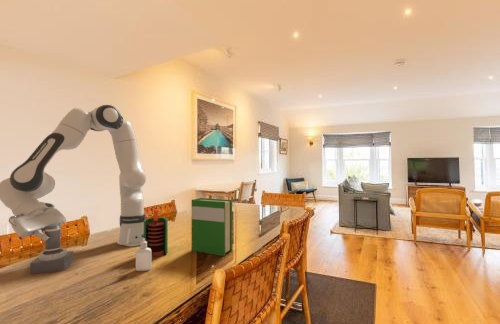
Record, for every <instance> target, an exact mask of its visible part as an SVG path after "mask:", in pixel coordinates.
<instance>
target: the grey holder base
mask: <svg viewBox="0 0 500 324" xmlns="http://www.w3.org/2000/svg"><path fill="white" fill-rule="evenodd" d="M74 253H75V252H74V250H67V249H66V248H64V247H61V248H60V250H59V251H56V252H51V253H46V252H45V250H43V251H41V252H40V253H38V257H36V258H35V259H34V260H32V261H31V262H30V263H29V274H30V275H33V274H43V273H45V274H46V273H51V272H62V271H63V272H64V271H65V270H66V269H67V268H68V267H69V266H70V265H71V264H72V262H74Z"/></svg>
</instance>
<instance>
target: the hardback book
mask: <svg viewBox="0 0 500 324" xmlns="http://www.w3.org/2000/svg"><path fill="white" fill-rule="evenodd" d="M192 250H193V251H192ZM191 251H192V252H196V251H198V252H197V253H202V252H204V253H203V254H208V253H209V255H214V254H215V256H222V257H225V256H226V254H227V253H228V252H232V251H233V199H228V198H227V199H223V198H209V197H208V198H207V197H198V198H194V199H191Z"/></svg>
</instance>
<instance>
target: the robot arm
mask: <svg viewBox="0 0 500 324" xmlns="http://www.w3.org/2000/svg"><path fill="white" fill-rule="evenodd" d="M90 130H91V131H95V132H102V131H106V130H107V131H108V133H109V134H110V135H111V139H112V140H111V141H112V145H113V150H114V153H115V159H116V162H117V165H118V168H119V172H120V173H119V176H118V177H119V179H118V180H119V197H120V216H119V227H120V228H119V235H118V239H117V245H120V246H126V247H137V246H140V242H142V240H143V238H144V220H145V219H149V216H148V214H147V213H145V212H144V211H145V210H144V209H145V205H144V204H145V203H144V199H145V198H144V195H143V186H144V185H145V183H147V182H146V181H147V175H146V173H145V169H144V165H143V162H142V159H141V156H140V152H139V148H138V143H137V138H136V135H135V131H134V128H133V125H132V124H131V122H130V121H129V120H127V119H124V117H123V116H122V115H121V113H120V111H119V109H118V108H117V107H115V106H114V105H111V104H103V105H100V106H97V107H95V108H94V109H93V110H90V111H87V110H85V109H82V108H79V107H75V108H72V109H70V111H68V112H67V114H65V116H63V118H62V119H61V120H60V122H59V123H58V125H57V126H56V128H55V129H54V130H53V131H52V132H51V133H50V134H48V135H47V136H46V137H45V138H44V139H43V140H42V141H41V143H40V144H39V145H38V146H37V147H36V148H35V149H34V150H33V152H32V153H31V154H30V155H29V157H27V159H26V160H25V161H24V162H22V163H21V164H20V165H19V166H17V167H16V168H15V169H14V170H13V171H12V172H10V173H11V174H10V177H8V178H5V179H3V180H2V181H0V201H1V202H2V203H3V205H4V206H5V207H6V208H9V210H10V211H11V213H12V214H13V215H11V216H9V218H8V223H9V224H10V225H11V227H12V230H13V231H14V232H15V234H16V235H17V236H18V237H20V238H22V239H23V238H27V237H31V236H33V235H34V236H35V237H37V238H40V239H42V240H43V241H44V242H45V241H47V240H49V239H50V236H49V235H48V234H45V227H46V226H47V225H50V224H60V225H61V227H62V226H63V225H64V224H65V223H66V222H67V219H66V217H65V216H64V214H63V213H62V212H61V211H60V210H59V209H58V208H55V207H56V206H55V204H53V203H51V202H43V201H40V200H38V199H41V198H43V197H45V196H46V195H48V194H50V193H52V191H53V190H54V189H55V185H56V181H55V179H54V177H53V176H51V175H50V174H49V173H47V172H45V169H46V168H47V166H48V165H49V163H50V162H51V160H52V159H53V158H54V157H55V155H56V154H58V153H59V151H62V150H67V151H68V150H74V149H76V148H78V146H80V145H81V144H82V142H83V141H84V139H85V137H86V136H87V134H88V132H89V131H90ZM62 235H63V231H62V230H61V234H60V236H62Z"/></svg>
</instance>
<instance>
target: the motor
mask: <svg viewBox="0 0 500 324" xmlns="http://www.w3.org/2000/svg"><path fill="white" fill-rule="evenodd" d="M168 220H169V219H168V218H167V217H162V216H161V217H159V208H156V209H155V208H154V209H153V217H150V218H149V217H148V219H145V220H144V238H145V241H146V242H147V248H150V249H151V254H152V258H160V257H162V255H163V256H164V255H165V256H167V255H168V254H167V253H168V251H169V249H168V246H169V245H168V244H169V243H168V235H169V234H168V233H169V232H168V230H169V229H168V226H169V225H168V224H169V221H168ZM166 254H167V255H166ZM159 256H160V257H159Z"/></svg>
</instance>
